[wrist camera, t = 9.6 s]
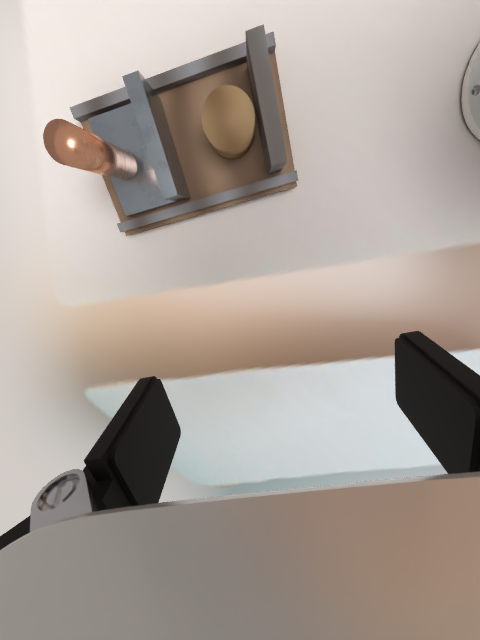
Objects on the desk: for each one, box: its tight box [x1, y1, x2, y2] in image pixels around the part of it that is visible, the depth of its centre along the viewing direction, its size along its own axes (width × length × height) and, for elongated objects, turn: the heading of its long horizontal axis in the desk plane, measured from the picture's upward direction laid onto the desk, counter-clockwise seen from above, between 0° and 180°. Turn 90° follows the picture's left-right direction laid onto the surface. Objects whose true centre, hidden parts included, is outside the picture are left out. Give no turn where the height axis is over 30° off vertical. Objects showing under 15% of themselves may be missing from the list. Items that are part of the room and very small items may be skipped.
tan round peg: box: [201, 85, 255, 159], centre depth 27 cm, size 5×5×5 cm
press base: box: [70, 25, 298, 236], centre depth 28 cm, size 22×14×8 cm, turn 105°
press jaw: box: [43, 71, 190, 216], centre depth 25 cm, size 8×10×12 cm
